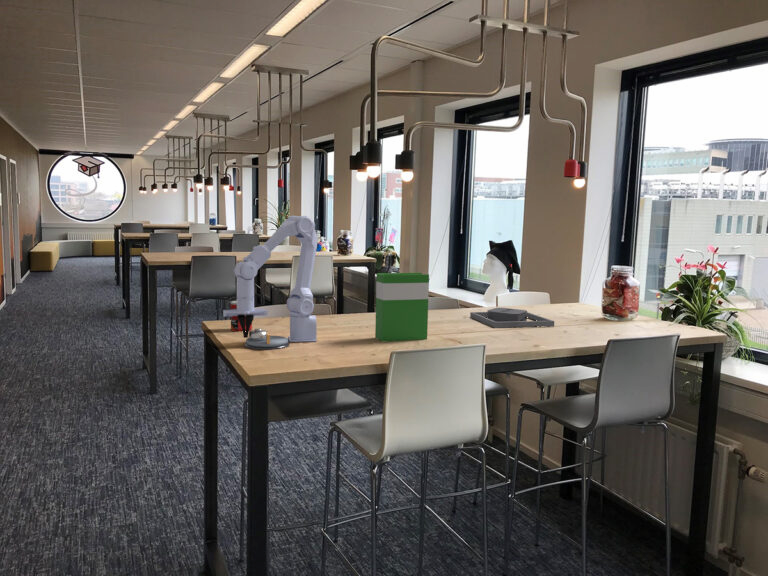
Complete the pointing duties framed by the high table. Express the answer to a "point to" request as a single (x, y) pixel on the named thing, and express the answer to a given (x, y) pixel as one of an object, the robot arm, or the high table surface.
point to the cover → (257, 335)
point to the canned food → (236, 319)
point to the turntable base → (266, 347)
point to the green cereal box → (401, 306)
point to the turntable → (268, 341)
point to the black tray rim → (540, 322)
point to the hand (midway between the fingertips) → (245, 337)
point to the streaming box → (506, 315)
